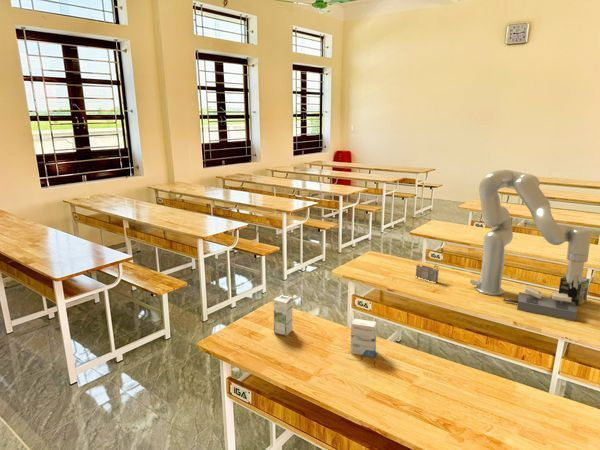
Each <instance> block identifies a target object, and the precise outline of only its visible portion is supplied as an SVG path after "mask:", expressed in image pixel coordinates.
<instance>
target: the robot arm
mask: <svg viewBox="0 0 600 450" xmlns="http://www.w3.org/2000/svg"><path fill="white" fill-rule="evenodd" d="M540 184H541V183H540V180H539V178H538V177H537V176H536V175H533V174H530V173H523V172H519V171H515V170H510V169H501V170H495V171H492V172H490V173H488V174H487V175H485V176H484V177H483V178H482V179H481V181H480V184H479V185H478V186H479V187H478V193H479V198H480V207H481V215H482V220H483V223H484V225H485V226H487V227H489V228H491V230H490V231H488V232H487V233H486V234H485V235H484V237H483V242H482V244H483V253H482V261H481V263H482V265H481V270H480V271H481V272H480V278H479V279H478V280H475V279H470V284H472V285H473V286H475V291H477V292H478V293H480V294H483V295H487V296H497V297H498V296H501V295H503V294H504V289H503V288H501V287H502V279H503V273H504V265H505V246H507V245H509V244H510V243H511V242H512V240H513V235H514V234H513V227H512V220H511V214H510V212H509V210H508V209H507V208H506V207H505V206H502V205H501V199H500V194H499V192H498V191H499V190H500V189H504V188H508V189H512V190H515V192H516V193H517V195H518V196H519V198H520V199H521V200H522V202H523V203H524V205H525V206H526V207H527V209H528V210H529V212H530V215H531V217H532V219H533V221H534V224H535V226H536V228H537V229H538V232H540V234H541V235H542V236H543V239H545V240H546V242H547V243H549V244H550V245H553V246H560V245H562V244H564V243H565V242H566V243H567V242H568V246H567V252H566V253H567V254H566V260H568V263H567V269H566V280H567V282H568V283H570V284H569V289H568V297H572V298H577V291H578V289H577V288H578V284H581V280H582V277H583V272H584V266H585V265H584V264H585V263H587V262H588V260H589V253H590V247H591V238H592V231H591V230H590V229H588V228H582V227H573V226H570V225H569V226H568V225H565V224H558V223H557V222H556V220H555V219H554V217H553V215H552V211H551V202H550V201H549V199H548V198H547V196H545V194H544V193H543V191H542V189H541V188H540Z"/></svg>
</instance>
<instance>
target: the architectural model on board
mask: <svg viewBox="0 0 600 450" xmlns="http://www.w3.org/2000/svg"><path fill="white" fill-rule="evenodd" d="M439 267H440V266H439V265H436V264H434V266H433V267H430V266H426V265H422V266H421V265H420V264H417V265H416V270H415V277H416V276H417V277H420V278H423V279H426V280H429V281H433V282H437V281H438V282H439V273H440V272H439V269H438V268H439ZM438 282H437V283H438Z"/></svg>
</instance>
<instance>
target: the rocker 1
mask: <svg viewBox="0 0 600 450" xmlns="http://www.w3.org/2000/svg"><path fill="white" fill-rule="evenodd" d="M523 290H524V292H523V293H527V294H530V295H533V296H535V297H537V298H541V296H543V294H542V293H543V292H542V291H540V290H537V289H535V288H533V287H531V286H528V285H525V287H524V289H523Z"/></svg>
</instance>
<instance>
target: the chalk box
mask: <svg viewBox="0 0 600 450" xmlns="http://www.w3.org/2000/svg"><path fill="white" fill-rule="evenodd" d="M590 280H591V279H590V278H587V277H583V276H582V280H581V284H578V288H577V289H578V291H577V298H572V297H571V298H572V299H571V302H575V305H576V307H579V306H581V305H582V304H585V303H586V302H587V299H588V292H589V286H590ZM569 284H570V283H568V282H567V280H566V275H564V276H562V277H561V278H560V280H559V287H558V293H561V294H568V289H569Z"/></svg>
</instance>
